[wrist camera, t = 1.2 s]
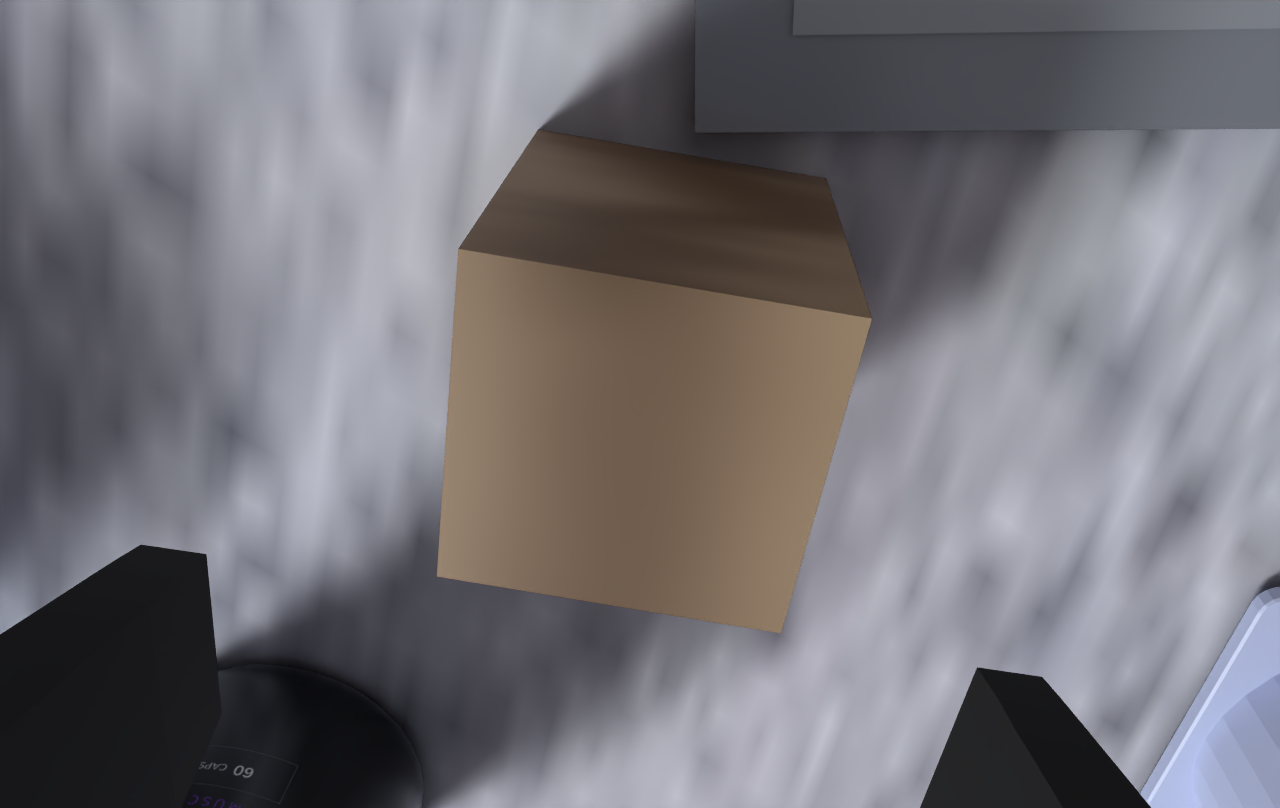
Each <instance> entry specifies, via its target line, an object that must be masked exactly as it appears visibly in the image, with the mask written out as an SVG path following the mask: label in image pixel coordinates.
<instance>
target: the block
mask: <svg viewBox="0 0 1280 808" xmlns="http://www.w3.org/2000/svg"><path fill="white" fill-rule="evenodd" d="M871 321H872V317H871V314H870V311H869V308H868V305H867V302H866V299H865V295H864V292H863V289H862V286H861V283H860V280H859V277H858V274H857V271H856V268H855V265H854V262H853V259H852V256H851V253H850V250H849V247H848V244H847V241H846V238H845V235H844V232H843V229H842V226H841V223H840V219H839V216H838V213H837V210H836V207H835V204H834V201H833V198H832V195H831V192H830V189H829V186H828V183H827V180H826V178H820V177H814V176H808V175H803V174H797V173H791V172H785V171H779V170H773V169H767V168H761V167H756V166H750V165H744V164H738V163H732V162H726V161H720V160H714V159H709V158H703V157H697V156H691V155H685V154H679V153H673V152H667V151H661V150H656V149H650V148H644V147H638V146H632V145H626V144H620V143H614V142H609V141H603V140H597V139H591V138H585V137H579V136H573V135H567V134H562V133H556V132H550V131H544V130H538V131H537V132H536V134H535V135H534V137H533V138H532V140H531V141H530V143H529V144H528V146H527V147H526V149H525V150H524V152H523V153H522V155H521V156H520V158H519V159H518V161H517V162H516V164H515V165H514V167H513V168H512V169H511V171H510V172H509V174H508V175H507V177H506V178H505V180H504V181H503V183H502V184H501V186H500V187H499V189H498V190H497V192H496V193H495V195H494V196H493V198H492V199H491V201H490V202H489V204H488V205H487V207H486V208H485V210H484V211H483V213H482V214H481V216H480V217H479V219H478V220H477V222H476V223H475V225H474V226H473V228H472V229H471V231H470V232H469V234H468V235H467V237H466V238H465V240H464V241H463V243H462V244H461V246H460V247H459V249H458V262H457V277H456V292H455V308H454V323H453V338H452V353H451V368H450V384H449V399H448V414H447V429H446V444H445V459H444V475H443V490H442V505H441V520H440V535H439V551H438V566H437V577H443V578H449V579H455V580H461V581H467V582H473V583H479V584H485V585H491V586H497V587H503V588H509V589H516V590H522V591H528V592H534V593H540V594H546V595H552V596H558V597H564V598H570V599H576V600H582V601H588V602H594V603H600V604H606V605H612V606H619V607H625V608H631V609H637V610H643V611H649V612H655V613H661V614H667V615H673V616H679V617H685V618H691V619H697V620H703V621H709V622H715V623H722V624H728V625H734V626H740V627H746V628H752V629H758V630H764V631H770V632H776V633H781V631H782V628H783V624H784V621H785V617H786V614H787V611H788V607H789V604H790V600H791V597H792V593H793V590H794V586H795V583H796V580H797V576H798V573H799V569H800V566H801V562H802V559H803V555H804V552H805V549H806V545H807V542H808V538H809V535H810V531H811V528H812V524H813V521H814V517H815V514H816V511H817V507H818V504H819V500H820V497H821V493H822V490H823V486H824V483H825V480H826V476H827V473H828V469H829V466H830V462H831V459H832V455H833V452H834V449H835V445H836V442H837V438H838V435H839V431H840V428H841V424H842V421H843V417H844V414H845V411H846V407H847V404H848V400H849V397H850V393H851V390H852V386H853V383H854V380H855V376H856V373H857V369H858V366H859V362H860V359H861V355H862V352H863V349H864V345H865V342H866V338H867V335H868V331H869V328H870V324H871Z"/></svg>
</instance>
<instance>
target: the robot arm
mask: <svg viewBox="0 0 1280 808" xmlns="http://www.w3.org/2000/svg"><path fill="white" fill-rule="evenodd" d="M221 714H222V709H221V699H220V689H219V679H218V668H217V658H216V648H215V638H214V628H213V617H212V607H211V597H210V587H209V577H208V567H207V556H206V554H201V553H194V552H187V551H180V550H174V549H167V548H160V547H153V546H146V545H140V546H138V547H136V548H135V549H133V550H131V551H130V552H128V553H126V554H125V555H123V556H121V557H120V558H118V559H117V560H115V561H113V562H112V563H110V564H109V565H107V566H105V567H104V568H102V569H101V570H99V571H98V572H96V573H95V574H93V575H91V576H90V577H88V578H87V579H85V580H84V581H82V582H81V583H79V584H77V585H76V586H74V587H73V588H71V589H70V590H68V591H67V592H65V593H64V594H62V595H61V596H59V597H57V598H56V599H54V600H53V601H51V602H50V603H48V604H47V605H45V606H44V607H42V608H41V609H39V610H37V611H36V612H34V613H33V614H31V615H30V616H28V617H27V618H25V619H24V620H22V621H21V622H19V623H17V624H16V625H14V626H13V627H11V628H10V629H8V630H7V631H5V632H3V633H2V634H0V808H181V807H182V805H183V803H184V801H185V798H186V796H187V794H188V792H189V790H190V787H191V785H192V783H193V781H194V778H195V776H196V774H197V772H198V769H199V767H200V765H201V762H202V760H203V758H204V755H205V753H206V750H207V748H208V746H209V743H210V741H211V738H212V736H213V734H214V731H215V729H216V726H217V724H218V722H219V719H220V717H221ZM920 808H1280V587H1275V588H1271V589H1268V590H1265V591H1264V592H1262V593H1260V594H1259V595H1257V596H1256V598H1255V599H1254V600H1253V601H1252V602H1251V604H1250V606H1249V607H1248V609H1247V611H1246V612H1245V614H1244V616H1243V618H1242V619H1241V621H1240V623H1239V624H1238V626H1237V628H1236V630H1235V631H1234V633H1233V635H1232V636H1231V638H1230V640H1229V642H1228V643H1227V645H1226V647H1225V649H1224V650H1223V652H1222V654H1221V655H1220V657H1219V659H1218V661H1217V662H1216V664H1215V666H1214V667H1213V669H1212V671H1211V673H1210V674H1209V676H1208V678H1207V679H1206V681H1205V683H1204V685H1203V686H1202V688H1201V690H1200V691H1199V693H1198V695H1197V697H1196V698H1195V700H1194V702H1193V703H1192V705H1191V707H1190V709H1189V710H1188V712H1187V714H1186V716H1185V717H1184V719H1183V721H1182V722H1181V724H1180V726H1179V728H1178V729H1177V731H1176V733H1175V734H1174V736H1173V738H1172V740H1171V741H1170V743H1169V745H1168V746H1167V748H1166V750H1165V752H1164V753H1163V755H1162V757H1161V758H1160V760H1159V762H1158V764H1157V765H1156V767H1155V769H1154V770H1153V772H1152V774H1151V776H1150V777H1149V779H1148V781H1147V782H1146V784H1145V786H1144V788H1143V789H1142V791H1141V793H1139V792H1138V791H1137V790H1136V789H1135V787H1134V786H1133V785H1132V784H1131V783H1130V781H1129V780H1128V779H1127V778H1126V777H1125V775H1124V774H1123V773H1122V772H1121V770H1120V769H1119V768H1118V767H1117V766H1116V764H1115V763H1114V762H1113V761H1112V760H1111V758H1110V757H1109V756H1108V755H1107V754H1106V752H1105V751H1104V750H1103V749H1102V747H1101V746H1100V745H1099V744H1098V743H1097V741H1096V740H1095V739H1094V738H1093V737H1092V735H1091V734H1090V733H1089V732H1088V730H1087V729H1086V728H1085V727H1084V726H1083V724H1082V723H1081V722H1080V721H1079V720H1078V718H1077V717H1076V716H1075V715H1074V714H1073V712H1072V711H1071V710H1070V709H1069V708H1068V706H1067V705H1066V704H1065V703H1064V702H1063V700H1062V699H1061V698H1060V697H1059V696H1058V695H1057V693H1056V692H1055V691H1054V690H1053V689H1052V688H1051V687H1050V685H1049V684H1048V683H1047V682H1046V681H1045V680H1044V679H1043V677H1039V676H1032V675H1025V674H1018V673H1011V672H1005V671H998V670H991V669H984V668H977V669H976V672H975V674H974V677H973V679H972V682H971V684H970V686H969V689H968V691H967V694H966V696H965V699H964V701H963V704H962V706H961V709H960V711H959V713H958V716H957V718H956V721H955V723H954V726H953V728H952V731H951V733H950V736H949V738H948V740H947V743H946V745H945V748H944V750H943V753H942V755H941V758H940V760H939V763H938V765H937V768H936V770H935V772H934V775H933V777H932V780H931V782H930V785H929V787H928V790H927V792H926V795H925V797H924V799H923V802H922V804H921V807H920Z"/></svg>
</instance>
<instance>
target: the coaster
mask: <svg viewBox="0 0 1280 808" xmlns="http://www.w3.org/2000/svg"><path fill="white" fill-rule="evenodd" d="M1143 129H1280V0H695V133H718V132H860V131H1001V130H1143Z"/></svg>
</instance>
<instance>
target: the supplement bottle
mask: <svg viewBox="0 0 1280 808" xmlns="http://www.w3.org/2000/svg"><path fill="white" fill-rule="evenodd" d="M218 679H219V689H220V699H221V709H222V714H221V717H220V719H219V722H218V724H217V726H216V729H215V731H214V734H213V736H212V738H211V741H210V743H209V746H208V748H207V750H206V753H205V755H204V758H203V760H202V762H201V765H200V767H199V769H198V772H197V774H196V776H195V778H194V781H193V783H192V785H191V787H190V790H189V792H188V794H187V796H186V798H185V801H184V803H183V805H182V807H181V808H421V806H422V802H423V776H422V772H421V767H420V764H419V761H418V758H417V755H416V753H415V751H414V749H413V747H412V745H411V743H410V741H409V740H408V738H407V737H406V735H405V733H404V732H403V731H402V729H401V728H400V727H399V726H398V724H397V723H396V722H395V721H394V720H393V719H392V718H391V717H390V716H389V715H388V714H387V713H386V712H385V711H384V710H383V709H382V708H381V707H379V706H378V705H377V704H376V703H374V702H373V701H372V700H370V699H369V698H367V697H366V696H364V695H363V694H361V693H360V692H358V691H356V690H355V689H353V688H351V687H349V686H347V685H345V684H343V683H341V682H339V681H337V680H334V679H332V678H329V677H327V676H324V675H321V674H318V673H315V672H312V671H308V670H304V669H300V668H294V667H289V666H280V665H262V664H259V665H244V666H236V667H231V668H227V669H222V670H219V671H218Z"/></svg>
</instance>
